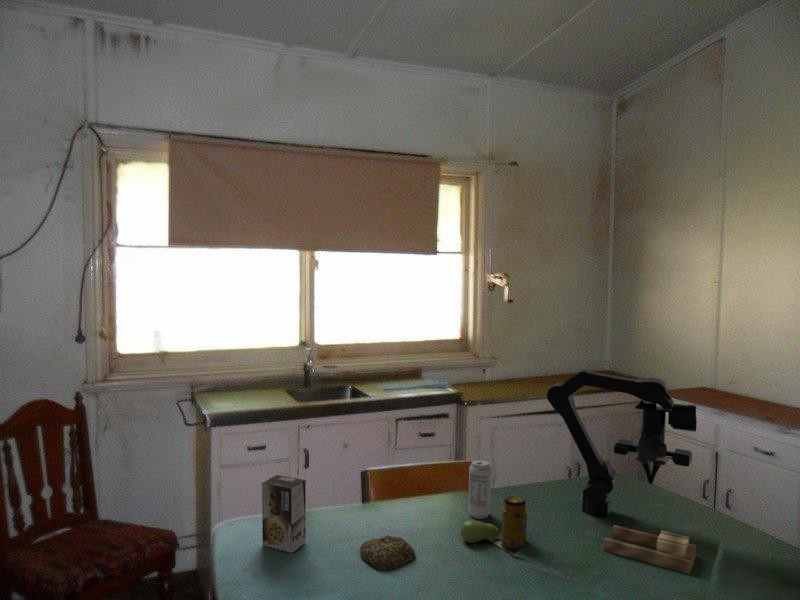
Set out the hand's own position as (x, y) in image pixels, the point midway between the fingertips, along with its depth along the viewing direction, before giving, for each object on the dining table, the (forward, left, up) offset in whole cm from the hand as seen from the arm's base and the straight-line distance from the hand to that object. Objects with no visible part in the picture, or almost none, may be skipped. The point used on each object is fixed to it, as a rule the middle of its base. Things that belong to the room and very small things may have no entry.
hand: (650, 483), depth 160 cm
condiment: (-25, -32, -12) cm, 42 cm away
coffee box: (-73, -64, -12) cm, 98 cm away
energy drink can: (-41, -20, -12) cm, 47 cm away
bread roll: (-49, -53, -12) cm, 73 cm away
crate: (+9, -18, -11) cm, 23 cm away
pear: (-34, -33, -12) cm, 49 cm away
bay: (+4, -18, -12) cm, 22 cm away
